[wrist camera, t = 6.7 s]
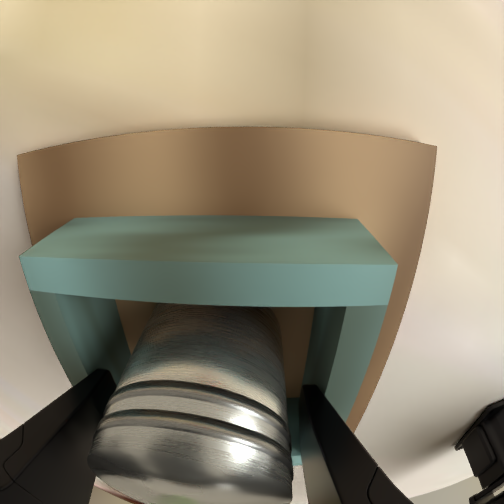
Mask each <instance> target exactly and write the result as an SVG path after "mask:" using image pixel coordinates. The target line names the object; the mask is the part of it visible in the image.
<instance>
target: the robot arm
mask: <svg viewBox="0 0 504 504" xmlns="http://www.w3.org/2000/svg"><path fill="white" fill-rule="evenodd" d="M116 387H117V385H116V383H115V381H114V378H113V376H112V374H111V372H110V371H109V370H107V369H101V368H98V369H96V370H95V371H93V372H92V373H91V374H89V375H88V376H86V377H85V378H84V379H82V380H81V381H80V382H78V383H77V384H76V385H74V386H73V387H72V388H70V389H69V390H68V391H66V392H65V393H64V394H62V395H61V396H60V397H58V398H57V399H56V400H54V401H53V402H52V403H50V404H49V405H48V406H46V407H45V408H44V409H42V410H41V411H40V412H38V413H37V414H36V415H34V416H33V417H32V418H30V419H29V420H28V421H26V422H25V423H24V424H22V425H21V426H19V427H18V428H17V429H15V430H14V431H12V432H11V433H10V434H8V435H7V436H5V437H4V438H2V439H0V504H89V500H90V497H91V493H92V489H93V485H94V481H95V478H96V475H95V474H94V473H93V472H92V470H91V469H90V467H89V466H88V463H87V457H88V454H89V452H90V449H91V446H92V444H93V442H92V441H93V436H94V433H95V431H96V428H97V426H98V424H99V422H100V420H101V419H102V417H103V412H104V410H105V407H106V405H107V403H108V400H109V399H110V397H111V395H112V394H113V393H114V392H115V390H116ZM299 438H300V453H301V460H302V466H303V472H304V478H305V485H306V491H307V497H308V504H413V503H412V502H411V501H410V500H409V499H408V498H407V497H406V496H405V495H404V494H403V493H402V492H401V491H400V490H399V489H398V488H397V487H396V486H395V485H394V484H393V483H392V481H391V480H390V479H389V478H388V477H387V476H386V474H385V473H384V472H383V470H382V469H381V468H380V467H377V466H378V464H377V463H376V462H375V460H374V459H373V458H372V457H371V455H370V454H369V453H368V451H367V450H366V449H365V448H364V446H363V445H362V444H361V442H360V441H359V440H358V439H357V437H356V436H355V435H354V433H353V432H352V431H351V429H350V428H349V427H348V426H347V424H346V423H345V422H344V420H343V419H342V418H341V416H340V415H339V414H338V412H337V411H336V410H335V408H334V407H333V406H332V404H331V403H330V402H329V400H328V399H327V398H326V396H325V395H324V394H323V392H322V391H321V390H320V388H319V387H318V386H317V385H316V384H304V385H302V388H301V393H300V398H299ZM463 448H464V451H465V453H466V456H467V458H468V461H469V463H470V466H471V468H472V471H473V474H474V476H475V477H478V478H479V481H480V483H481V486H482V489H484V490H483V491H481V492H480V493H478V494H475V495H473V496H472V497H470V498H469V503H470V504H504V491H503V492H501V493H500V494H498V495H496V496H494V494H493V493H494V492H496V491H497V490H499V489H500V488H502V487H503V486H504V400H503V401H501V402H498V403H496V404H493V405H491V406H490V407H488V408H487V409H486V410H485V412H484V413H483V414H482V415H481V417H480V418H479V419H478V420H477V422H476V423H475V424H474V425H473V426H472V428H471V429H470V430H469V431H468V432H467V433H466V435H465V436H464V437H463V438H462V439H461V440H460V441H459V442H458V443H457V445H456V446H455V450H456V451H457V450H460V449H463ZM485 488H486V489H485Z"/></svg>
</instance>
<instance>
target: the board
mask: <svg viewBox="0 0 504 504" xmlns="http://www.w3.org/2000/svg"><path fill="white" fill-rule="evenodd" d="M436 153H437V146H433V145H428V144H424V143H419V142H413V141H407V140H402V139H395V138H389V137H382V136H375V135H368V134H359V133H351V132H341V131H330V130H318V129H303V128H282V127H209V128H188V129H173V130H160V131H150V132H140V133H131V134H123V135H116V136H109V137H102V138H96V139H89V140H84V141H78V142H73V143H68V144H62V145H58V146H53V147H48V148H44V149H40V150H35V151H31V152H27V153H24V154H20V155H17V160H18V169H19V178H20V185H21V192H22V198H23V204H24V209H25V215H26V220H27V225H28V229H29V234H30V238H31V242H32V247H31V248H30V249H28V250H27V251H25V252H24V253H23V254H21V255H20V256H19V258H20V262H21V265H22V268H23V272H24V275H25V278H26V281H27V284H28V287H29V290H30V293H31V296H32V298H33V301H34V304H35V307H36V309H37V312H38V314H39V317H40V319H41V322H42V324H43V327H44V329H45V331H46V334H47V336H48V338H49V340H50V342H51V345H52V347H53V349H54V351H55V353H56V355H57V357H58V359H59V361H60V363H61V365H62V367H63V369H64V371H65V373H66V375H67V377H68V379H69V381H70V382H71V384H72V386H74V385H76V384H77V383H78V382H80V381H81V380H82V379H84V378H85V377H86V376H88V375H89V374H91V373H92V372H93V371H95V370H96V369H98V368H101V369H107V370H109V371H110V372H111V374H112V376H113V378H114V381H115V383H116V385H118V383H119V381H120V378H121V376H122V374H123V372H124V370H125V368H126V365H127V363H128V361H129V359H130V357H131V355H132V353H133V350H134V348H135V346H136V344H137V342H138V340H139V338H140V336H141V334H142V332H143V330H144V328H145V326H146V324H147V322H148V320H149V318H150V316H151V314H152V312H153V310H154V308H155V306H156V305H157V303H158V302H159V303H176V304H196V305H221V306H259V307H269V308H270V309H271V311H272V312H273V313H274V315H275V316H276V318H277V320H278V323H279V325H280V329H281V336H282V348H283V360H284V373H285V386H286V399H287V414H288V427H289V429H290V434H291V444H292V452H291V457H292V461H293V466H295V465H302V460H301V453H300V438H299V398H300V393H301V388H302V385H304V384H316V385H317V386H318V387H319V388H320V390H321V391H322V392H323V394H324V395H325V396H326V398H327V399H328V400H329V402H330V403H331V404H332V406H333V407H334V408H335V410H336V411H337V412H338V414H339V415H340V416H341V418H342V419H343V420H344V422H345V423H346V424H347V426H348V427H349V428H350V429H351V431H352V432H353V433H354V432H355V430H356V428H357V426H358V424H359V422H360V420H361V418H362V416H363V414H364V412H365V410H366V408H367V406H368V403H369V401H370V399H371V397H372V395H373V392H374V390H375V388H376V386H377V383H378V381H379V379H380V376H381V374H382V371H383V369H384V367H385V364H386V362H387V359H388V356H389V354H390V351H391V349H392V346H393V343H394V340H395V338H396V335H397V332H398V329H399V326H400V323H401V320H402V317H403V314H404V311H405V308H406V304H407V301H408V298H409V294H410V291H411V287H412V284H413V280H414V276H415V272H416V269H417V265H418V260H419V256H420V252H421V248H422V243H423V238H424V234H425V229H426V224H427V218H428V213H429V207H430V201H431V194H432V187H433V180H434V172H435V163H436Z"/></svg>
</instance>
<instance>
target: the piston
mask: <svg viewBox="0 0 504 504" xmlns="http://www.w3.org/2000/svg"><path fill="white" fill-rule="evenodd" d="M92 442H93V444H92V446H91V449H90V452H89V454H88V457H87V463H88V466H89V467H90V469H91V470H92V472H93V473H94V474H95V475H96V476H97V477H99V478H100V479H101V480H102V481H103V482H105V483H106V484H108V485H109V486H111V487H112V488H114V489H115V490H117V491H119V492H121V493H123V494H125V495H127V496H129V497H131V498H133V499H135V500H138V501H140V502H143V503H145V504H290V502H291V501H292V481H293V461H292V457H291V452H292V444H291V434H290V429H289V427H288V414H287V399H286V386H285V373H284V360H283V348H282V336H281V329H280V325H279V323H278V320H277V318H276V316H275V315H274V313H273V312H272V311H271V309H270V308H269V307H259V306H221V305H196V304H176V303H159V302H158V303H157V305H156V306H155V308H154V310H153V312H152V314H151V316H150V318H149V320H148V322H147V324H146V326H145V328H144V330H143V332H142V334H141V336H140V338H139V340H138V342H137V344H136V346H135V348H134V350H133V353H132V355H131V357H130V359H129V361H128V363H127V365H126V368H125V370H124V372H123V374H122V376H121V378H120V381H119V383H118V385H117V387H116V390H115V392H114V393H113V394H112V395H111V397H110V399H109V400H108V403H107V405H106V407H105V410H104V412H103V417H102V419H101V420H100V422H99V424H98V426H97V428H96V431H95V433H94V436H93V441H92Z"/></svg>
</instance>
